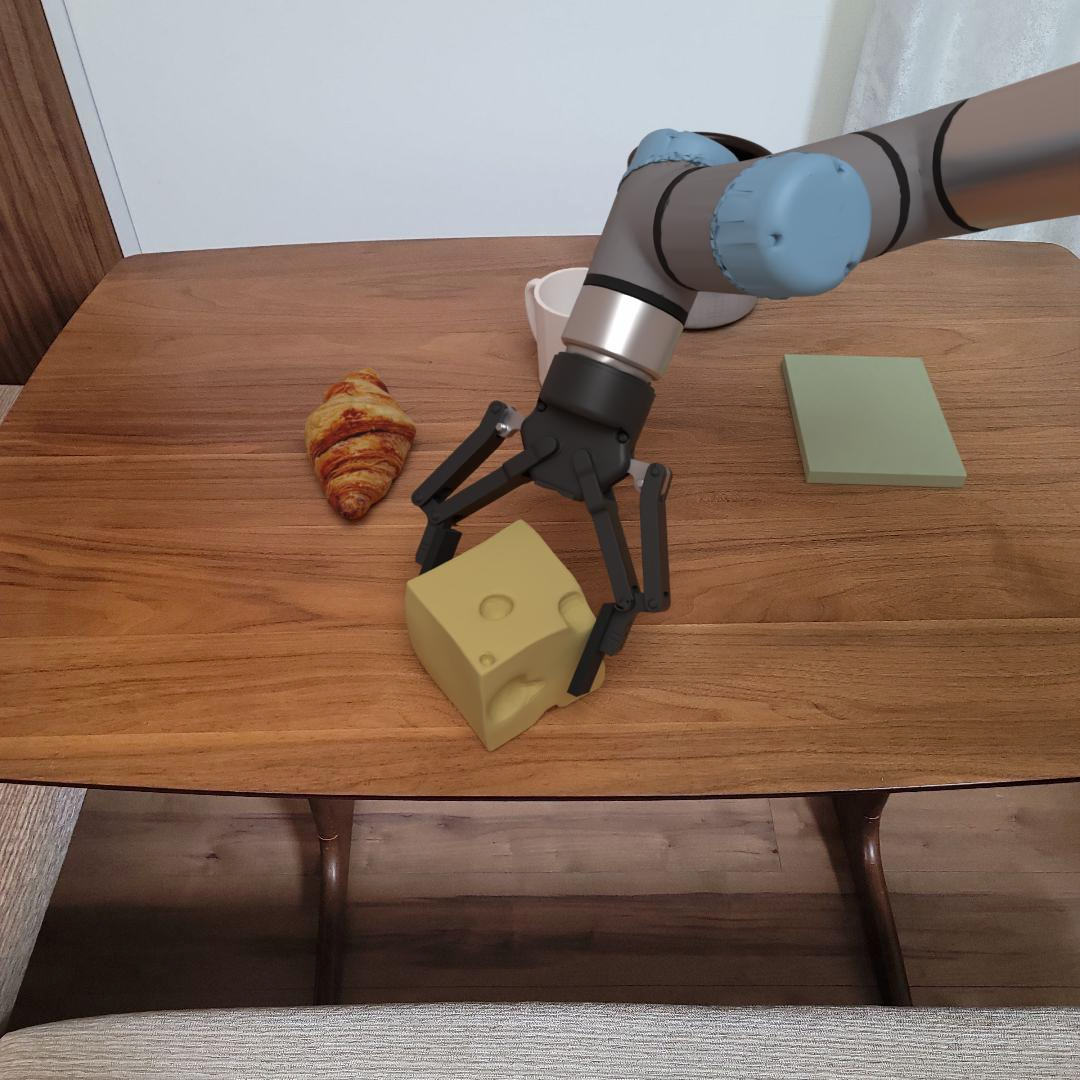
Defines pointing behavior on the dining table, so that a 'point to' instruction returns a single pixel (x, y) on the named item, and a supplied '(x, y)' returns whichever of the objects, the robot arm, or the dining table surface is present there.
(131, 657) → the dining table surface
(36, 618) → the dining table surface
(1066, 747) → the dining table surface
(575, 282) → the mug
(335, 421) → the croissant
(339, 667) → the dining table surface
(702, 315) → the planter
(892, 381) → the board
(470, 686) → the cheese
